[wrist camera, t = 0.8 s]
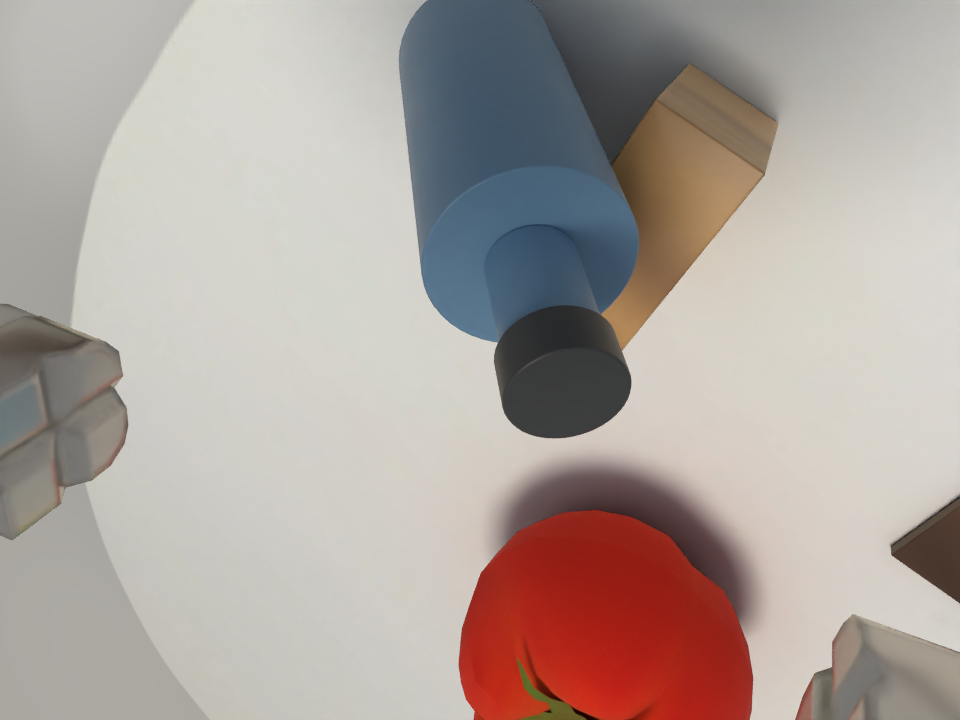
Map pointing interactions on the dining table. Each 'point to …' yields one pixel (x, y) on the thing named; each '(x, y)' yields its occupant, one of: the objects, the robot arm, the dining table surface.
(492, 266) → the bottle
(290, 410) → the dining table surface
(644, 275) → the prop block
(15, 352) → the robot arm
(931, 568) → the coaster
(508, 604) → the tomato
